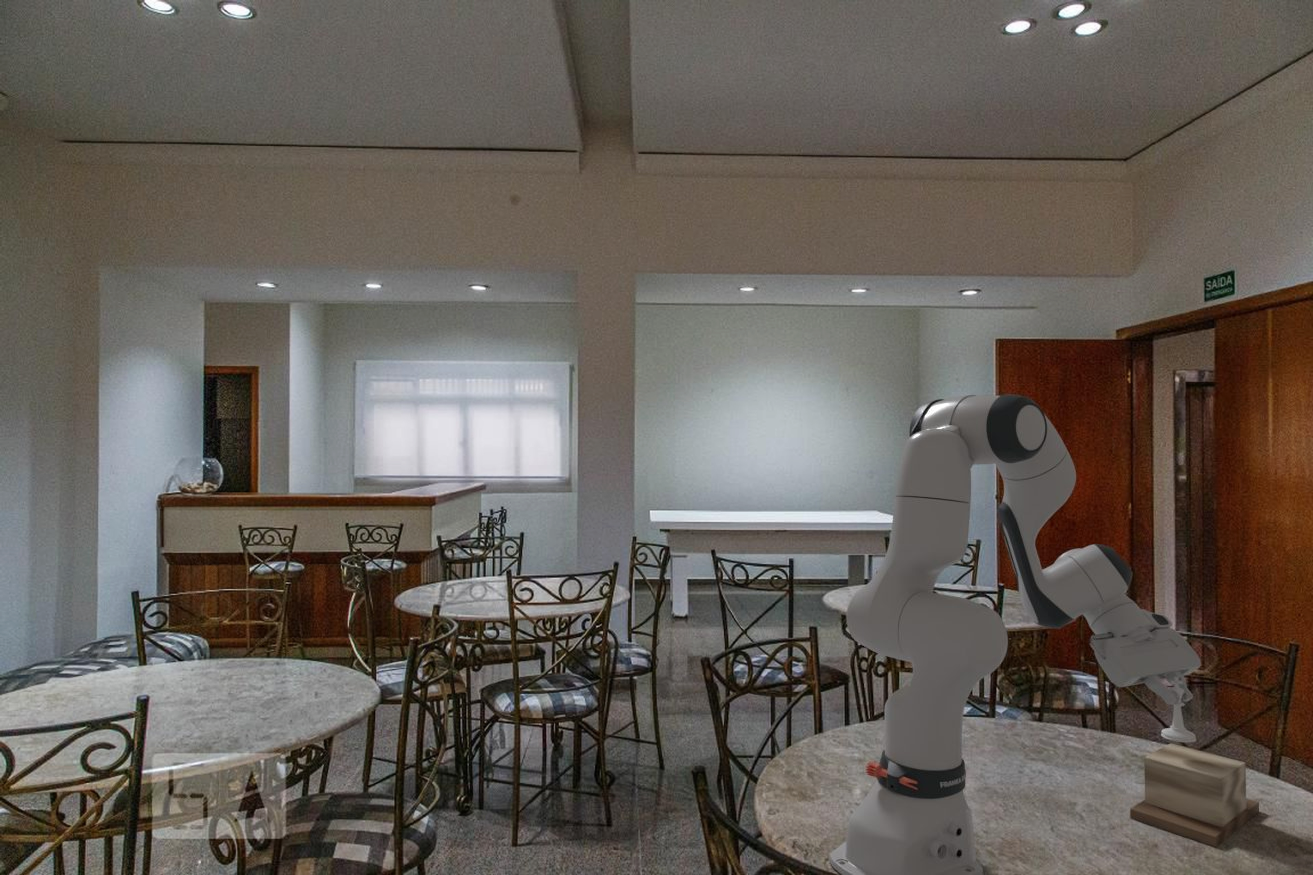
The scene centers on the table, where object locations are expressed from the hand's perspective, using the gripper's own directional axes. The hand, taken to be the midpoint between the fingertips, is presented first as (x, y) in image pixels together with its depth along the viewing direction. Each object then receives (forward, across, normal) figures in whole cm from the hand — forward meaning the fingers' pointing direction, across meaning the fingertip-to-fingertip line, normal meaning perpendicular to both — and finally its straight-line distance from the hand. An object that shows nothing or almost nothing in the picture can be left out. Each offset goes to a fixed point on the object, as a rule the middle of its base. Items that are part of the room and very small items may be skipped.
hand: (1181, 701), depth 131 cm
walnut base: (+14, +1, +12) cm, 19 cm away
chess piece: (+4, 0, +5) cm, 6 cm away
